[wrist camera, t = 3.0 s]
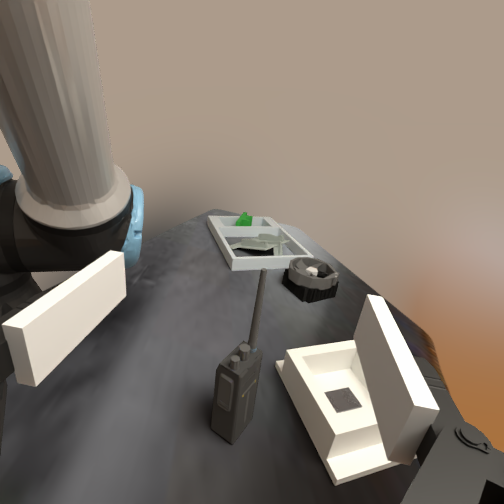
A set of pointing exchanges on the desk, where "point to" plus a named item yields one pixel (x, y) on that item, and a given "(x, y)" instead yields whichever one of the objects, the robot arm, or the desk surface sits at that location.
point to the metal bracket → (263, 243)
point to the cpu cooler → (311, 279)
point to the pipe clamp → (244, 220)
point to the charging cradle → (335, 408)
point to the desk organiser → (260, 225)
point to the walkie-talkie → (238, 380)
